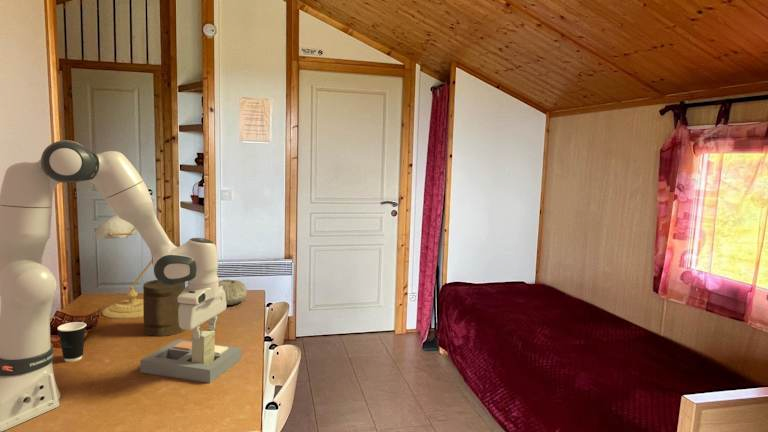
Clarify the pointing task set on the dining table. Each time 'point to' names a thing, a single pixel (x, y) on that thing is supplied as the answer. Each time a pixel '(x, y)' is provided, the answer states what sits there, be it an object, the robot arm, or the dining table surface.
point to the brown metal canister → (161, 308)
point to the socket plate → (189, 362)
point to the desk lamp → (131, 306)
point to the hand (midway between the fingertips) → (204, 333)
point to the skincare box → (203, 347)
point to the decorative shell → (233, 291)
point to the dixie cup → (72, 340)
